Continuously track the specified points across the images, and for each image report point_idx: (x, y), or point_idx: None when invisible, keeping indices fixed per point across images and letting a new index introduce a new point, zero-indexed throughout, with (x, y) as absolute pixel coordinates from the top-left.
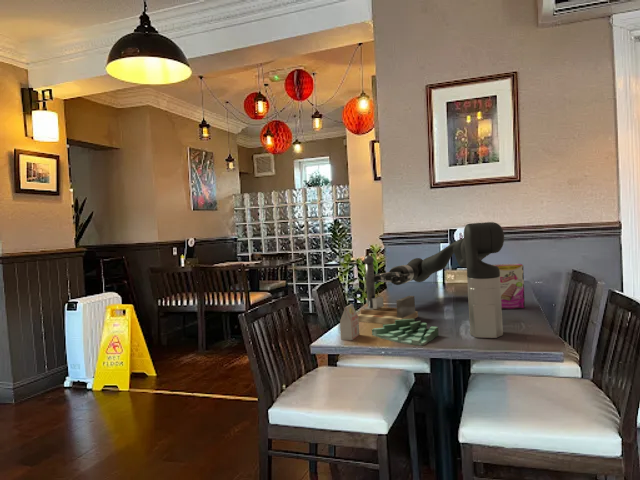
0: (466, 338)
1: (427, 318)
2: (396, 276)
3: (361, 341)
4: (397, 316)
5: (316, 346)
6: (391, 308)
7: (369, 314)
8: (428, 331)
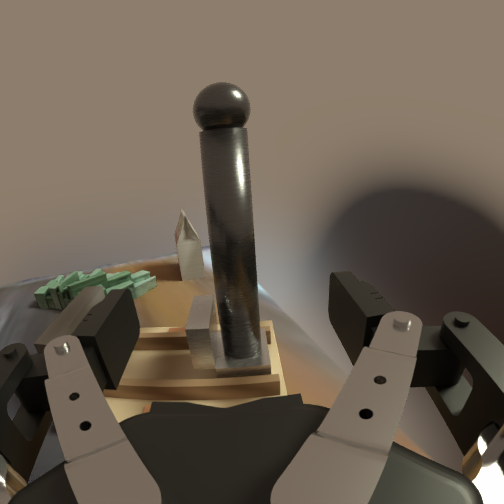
0: (7, 307)
1: None
2: (85, 327)
3: (161, 267)
4: None
5: None
6: (156, 380)
7: None
8: (53, 281)
